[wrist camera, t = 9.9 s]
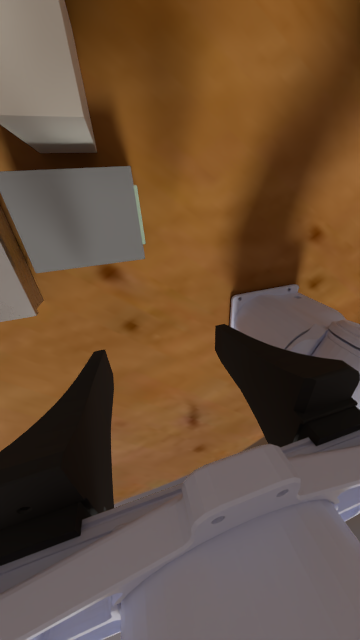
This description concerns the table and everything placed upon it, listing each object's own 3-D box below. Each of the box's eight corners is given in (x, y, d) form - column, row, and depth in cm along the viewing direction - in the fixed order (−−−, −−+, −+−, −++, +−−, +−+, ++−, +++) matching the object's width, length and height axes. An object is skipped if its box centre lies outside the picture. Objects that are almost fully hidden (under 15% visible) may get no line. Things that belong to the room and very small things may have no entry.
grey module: (71, 29, 12) (29, -134, 7) (97, 152, 15) (83, 117, 10) (-7, 21, 12) (-139, -175, 6) (35, 153, 15) (-22, 114, 9)
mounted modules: (68, -230, 9) (37, -492, 6) (143, 249, 20) (148, 258, 16) (-168, -303, 8) (-404, -725, 4) (51, 261, 18) (35, 273, 15)
